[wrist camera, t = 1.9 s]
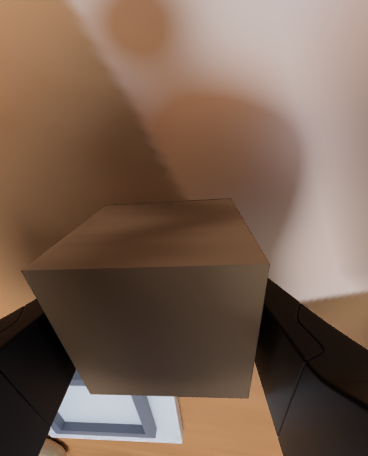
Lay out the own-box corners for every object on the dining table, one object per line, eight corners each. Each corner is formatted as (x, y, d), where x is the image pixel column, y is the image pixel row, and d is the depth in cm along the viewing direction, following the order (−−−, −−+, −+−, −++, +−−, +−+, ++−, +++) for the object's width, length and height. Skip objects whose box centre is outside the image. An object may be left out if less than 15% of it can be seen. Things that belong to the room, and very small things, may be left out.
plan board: (166, 329, 13) (162, 353, 11) (183, 429, 20) (182, 452, 18) (-21, 328, 14) (-46, 350, 12) (57, 424, 21) (47, 445, 19)
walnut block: (230, 198, 9) (269, 264, 4) (226, 294, 11) (248, 398, 7) (106, 204, 9) (21, 270, 5) (130, 295, 12) (90, 394, 7)
